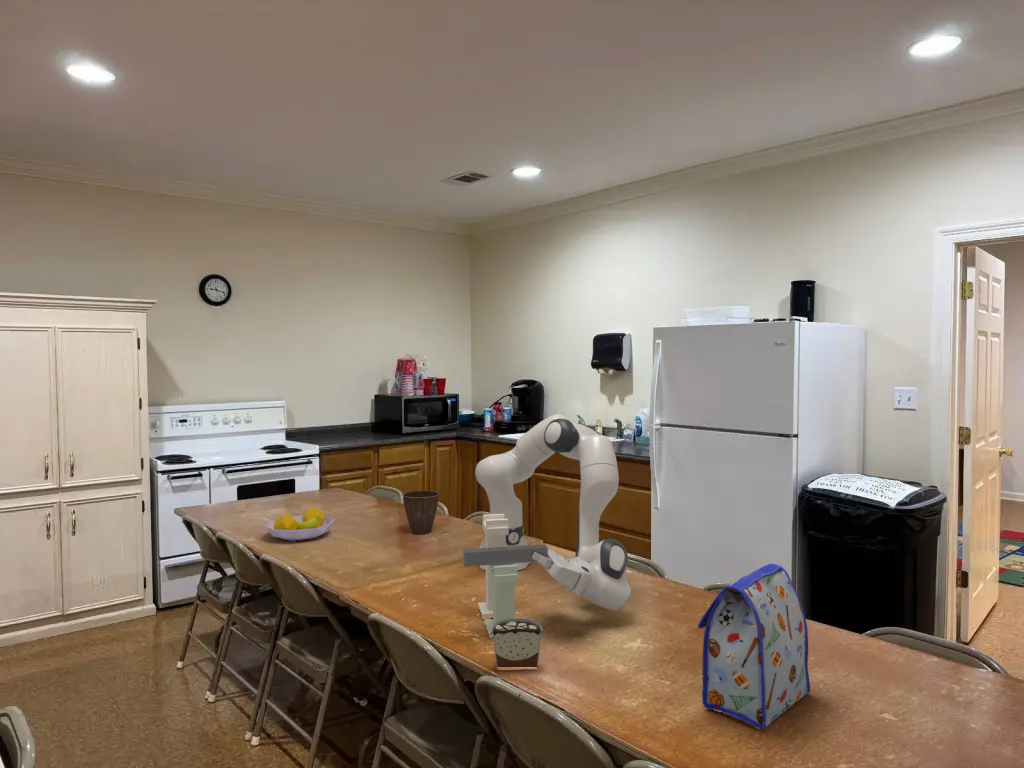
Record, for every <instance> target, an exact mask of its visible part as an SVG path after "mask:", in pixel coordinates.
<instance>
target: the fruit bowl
mask: <svg viewBox="0 0 1024 768" xmlns="http://www.w3.org/2000/svg"><path fill="white" fill-rule="evenodd" d="M325 514H326V513H325V512H324V511H323V510H321V509H320V508H318V507H316V506H315V507H311V508H308V509H307V510H306V511H304V513H303V514H302V515H294V516H292V515H291V514H288V513H284V514H282V515H281V516H279V517H278V518H276V519H273V520H270V521H268V523H266V524H265V528H266V529H267V531H268V532H269V533H270V535H271V536H272V537H274V538H278V539H282V540H286V541H289V542H296V540H298V541H306V540H305V539H307V540H314V539H315V538H318V537H320V536H321V535H323V534H325V533H327V532H328V531H330V530H331V528H332V526H333V523H334V521H335V518H333V517H329V516H326V515H325ZM313 538H314V539H313Z"/></svg>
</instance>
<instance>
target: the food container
mask: <svg viewBox="0 0 1024 768" xmlns="http://www.w3.org/2000/svg"><path fill="white" fill-rule="evenodd" d="M492 633H493V638H492V639H493V640H492V641H493V649H494V657H495V666H496V668H497V667H538V668H539V660H540V650H541V639H542V636H545V634H544V629H543V627H542V624H540V623H539V621H538V622H537V621H536V620H533V619H530V618H524V617H518V618H510V619H504V620H501V621H498V622H496V623H495V624H494V625H493V627H492V629H491V634H492ZM491 634H490V637H491Z"/></svg>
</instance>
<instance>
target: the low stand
mask: <svg viewBox="0 0 1024 768" xmlns="http://www.w3.org/2000/svg"><path fill="white" fill-rule="evenodd" d="M489 569H490V575H491V577H492V579H493V619H484V621H483V622H484V623H485V625H486V628H487V630H488V633H489V636H490V634H491V629H492V627H493V625H494V624H495V623H496V622H498V621H501V620H504V619H510V618H519V617H518V616H516V608H515V607H516V604H515V603H516V602H515V601H516V598H515V594H516V593H515V592H516V589H515V588H516V587H515V586H516V585H515V583H518V582H519V573H518V570H517V565H513V563H509V564H494V565H490V566H489ZM484 623H483V624H484ZM485 625H484V626H485ZM486 628H485V629H486ZM488 633H487V634H488ZM491 635H493V633H492V634H491ZM489 636H488V637H489Z"/></svg>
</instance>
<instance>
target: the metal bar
mask: <svg viewBox="0 0 1024 768" xmlns="http://www.w3.org/2000/svg"><path fill="white" fill-rule="evenodd" d="M548 548H549V547H548V546H547V545H546V543H545V544H544V543H542V544H540V543H539V544H527V545H523V546H507V547H492V548H478V547H477V548H464V549H462V564H463V566H464V567H476V566H477V567H478V566H480V565H494V564H509V563H524V562H531V563H536V562H537V563H539V562H538V561H536V560H534V559H533V558H532V557H531V555H532V553H533V552H534V551H535V552H537V553H539V554H540V555H542V556H544V557H547V558H548Z"/></svg>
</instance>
